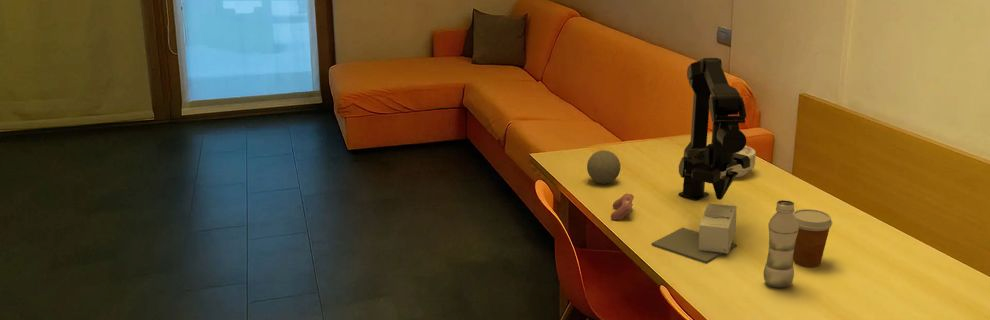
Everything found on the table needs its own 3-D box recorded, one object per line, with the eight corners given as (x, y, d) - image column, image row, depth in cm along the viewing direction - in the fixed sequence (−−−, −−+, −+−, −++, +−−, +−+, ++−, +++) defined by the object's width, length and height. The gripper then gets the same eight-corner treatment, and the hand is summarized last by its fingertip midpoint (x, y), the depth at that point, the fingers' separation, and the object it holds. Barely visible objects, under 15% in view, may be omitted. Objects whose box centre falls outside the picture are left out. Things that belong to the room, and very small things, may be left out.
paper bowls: (760, 170, 282) (762, 146, 279) (745, 184, 269) (746, 159, 267) (713, 162, 289) (714, 138, 287) (696, 176, 277) (697, 151, 275)
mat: (682, 229, 237) (682, 227, 237) (736, 246, 227) (736, 244, 226) (651, 245, 228) (651, 243, 228) (706, 263, 217) (706, 261, 217)
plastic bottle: (758, 279, 209) (765, 198, 203) (786, 277, 210) (794, 197, 203) (768, 291, 203) (776, 208, 197) (797, 290, 203) (806, 207, 197)
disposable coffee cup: (807, 273, 212) (812, 226, 208) (777, 258, 220) (782, 212, 216) (836, 265, 216) (841, 218, 212) (806, 250, 224) (811, 205, 220)
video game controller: (623, 226, 244) (636, 206, 241) (608, 219, 244) (621, 198, 241) (625, 213, 253) (638, 193, 250) (611, 205, 253) (623, 185, 251)
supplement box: (737, 205, 228) (729, 228, 217) (736, 230, 231) (728, 254, 220) (707, 201, 231) (698, 224, 220) (707, 227, 234) (698, 251, 223)
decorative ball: (580, 184, 271) (581, 152, 268) (596, 175, 279) (596, 144, 276) (610, 190, 266) (611, 158, 263) (625, 180, 274) (626, 149, 271)
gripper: (715, 127, 238) (711, 183, 243) (675, 142, 226) (672, 201, 230) (753, 135, 231) (748, 192, 236) (714, 151, 218) (710, 212, 223)
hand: (719, 199), depth 231 cm, fingers closed
